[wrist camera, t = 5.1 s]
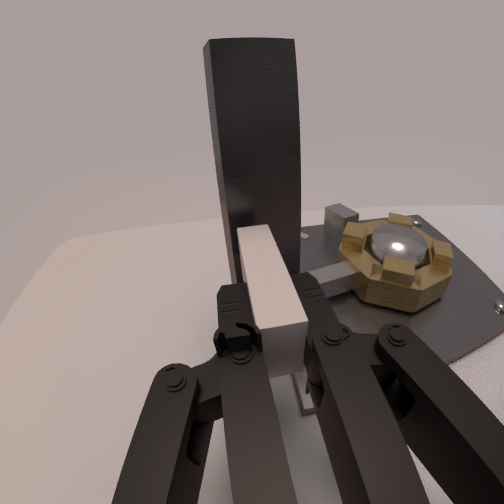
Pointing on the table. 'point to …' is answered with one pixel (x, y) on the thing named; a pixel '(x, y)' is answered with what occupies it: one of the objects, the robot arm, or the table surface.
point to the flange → (420, 322)
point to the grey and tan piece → (294, 178)
